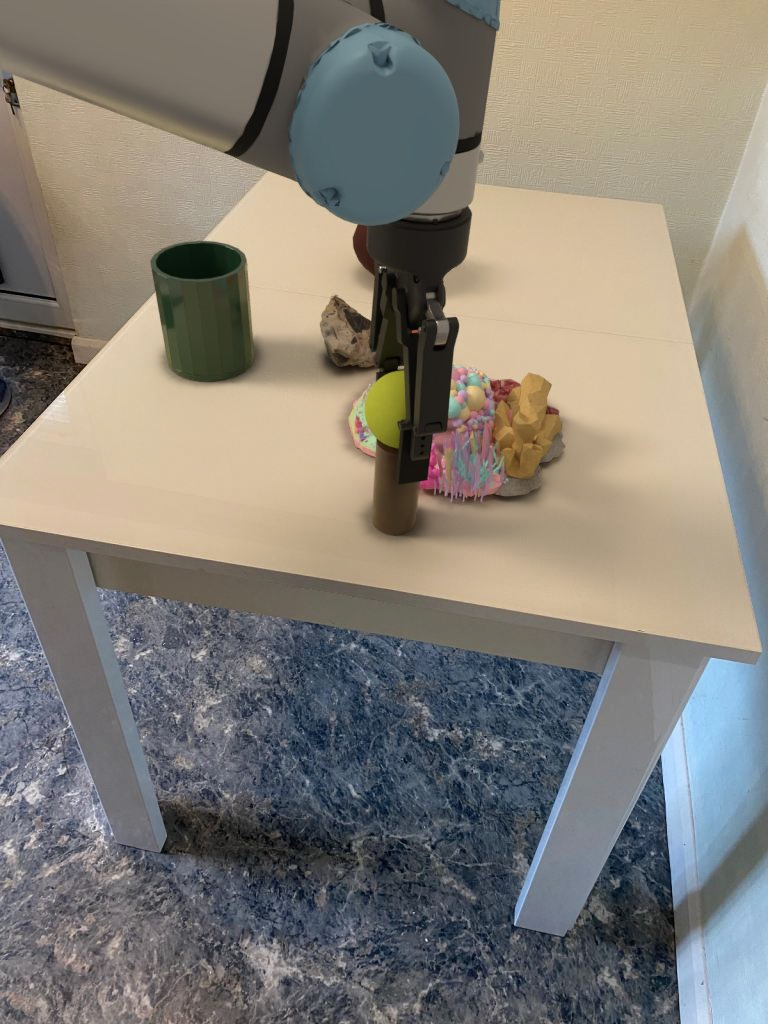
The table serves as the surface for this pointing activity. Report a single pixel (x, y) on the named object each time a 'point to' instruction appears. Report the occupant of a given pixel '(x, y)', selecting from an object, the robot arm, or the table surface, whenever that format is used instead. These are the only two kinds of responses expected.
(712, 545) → the table surface
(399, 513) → the post
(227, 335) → the tube
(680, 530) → the table surface
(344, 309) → the rock
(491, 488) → the candy landscape model
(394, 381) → the ball
